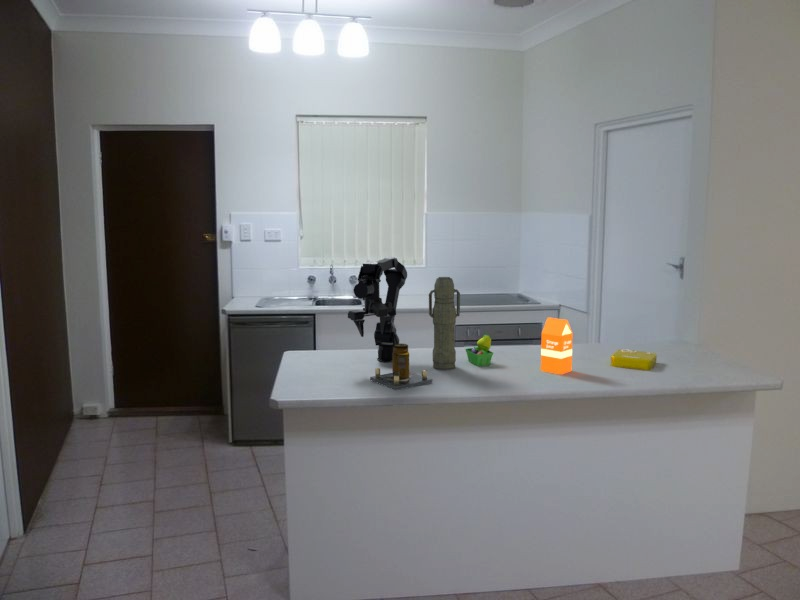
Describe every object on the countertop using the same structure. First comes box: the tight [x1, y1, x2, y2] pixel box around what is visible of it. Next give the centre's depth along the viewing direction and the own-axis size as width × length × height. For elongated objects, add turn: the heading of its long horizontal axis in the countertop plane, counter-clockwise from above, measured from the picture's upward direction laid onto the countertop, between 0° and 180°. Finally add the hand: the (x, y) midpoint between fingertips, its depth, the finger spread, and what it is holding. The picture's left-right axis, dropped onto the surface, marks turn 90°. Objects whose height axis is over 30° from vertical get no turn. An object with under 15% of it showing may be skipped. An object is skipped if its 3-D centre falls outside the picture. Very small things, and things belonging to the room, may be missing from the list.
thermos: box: [428, 276, 461, 371], centre depth 259 cm, size 9×12×35 cm
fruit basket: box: [464, 334, 494, 367], centre depth 267 cm, size 11×9×11 cm
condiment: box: [387, 343, 412, 381], centre depth 241 cm, size 7×8×12 cm
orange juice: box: [540, 317, 574, 376], centre depth 254 cm, size 8×9×20 cm
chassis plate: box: [369, 367, 433, 391], centre depth 241 cm, size 16×16×4 cm
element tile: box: [610, 348, 658, 371], centre depth 264 cm, size 15×15×5 cm
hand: (372, 335), depth 259 cm, fingers open, 9 cm apart
